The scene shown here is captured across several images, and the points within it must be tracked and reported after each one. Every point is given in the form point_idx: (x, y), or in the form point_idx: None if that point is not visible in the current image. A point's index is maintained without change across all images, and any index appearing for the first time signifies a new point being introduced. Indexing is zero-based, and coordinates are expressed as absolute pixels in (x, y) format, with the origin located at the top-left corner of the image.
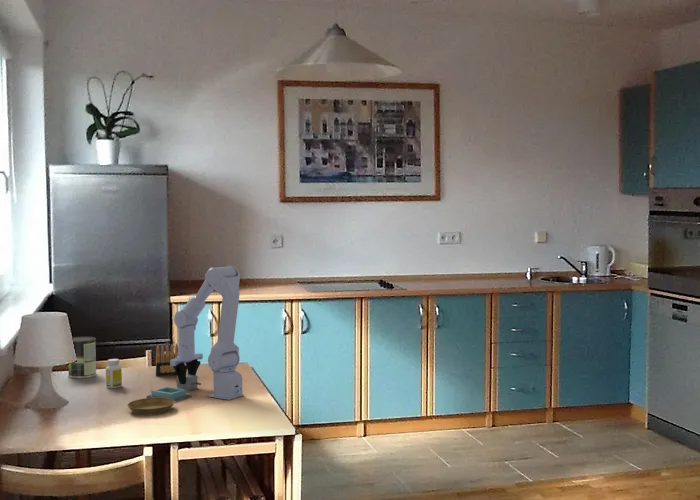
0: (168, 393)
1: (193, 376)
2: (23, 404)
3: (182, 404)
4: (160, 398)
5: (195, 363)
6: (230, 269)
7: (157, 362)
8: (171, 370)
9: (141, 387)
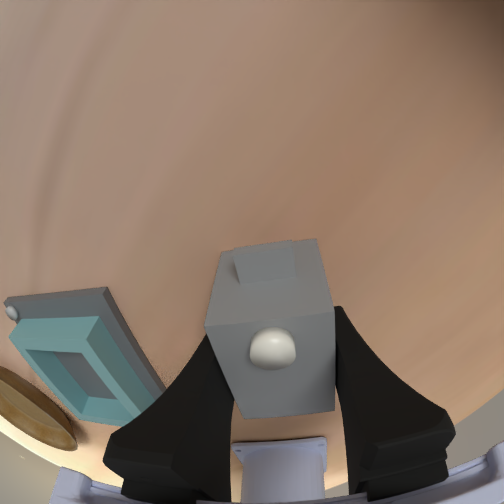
0: (70, 410)
1: (293, 414)
2: None
3: (112, 430)
4: (41, 409)
5: (349, 493)
6: None
7: None
8: None
9: (41, 32)
